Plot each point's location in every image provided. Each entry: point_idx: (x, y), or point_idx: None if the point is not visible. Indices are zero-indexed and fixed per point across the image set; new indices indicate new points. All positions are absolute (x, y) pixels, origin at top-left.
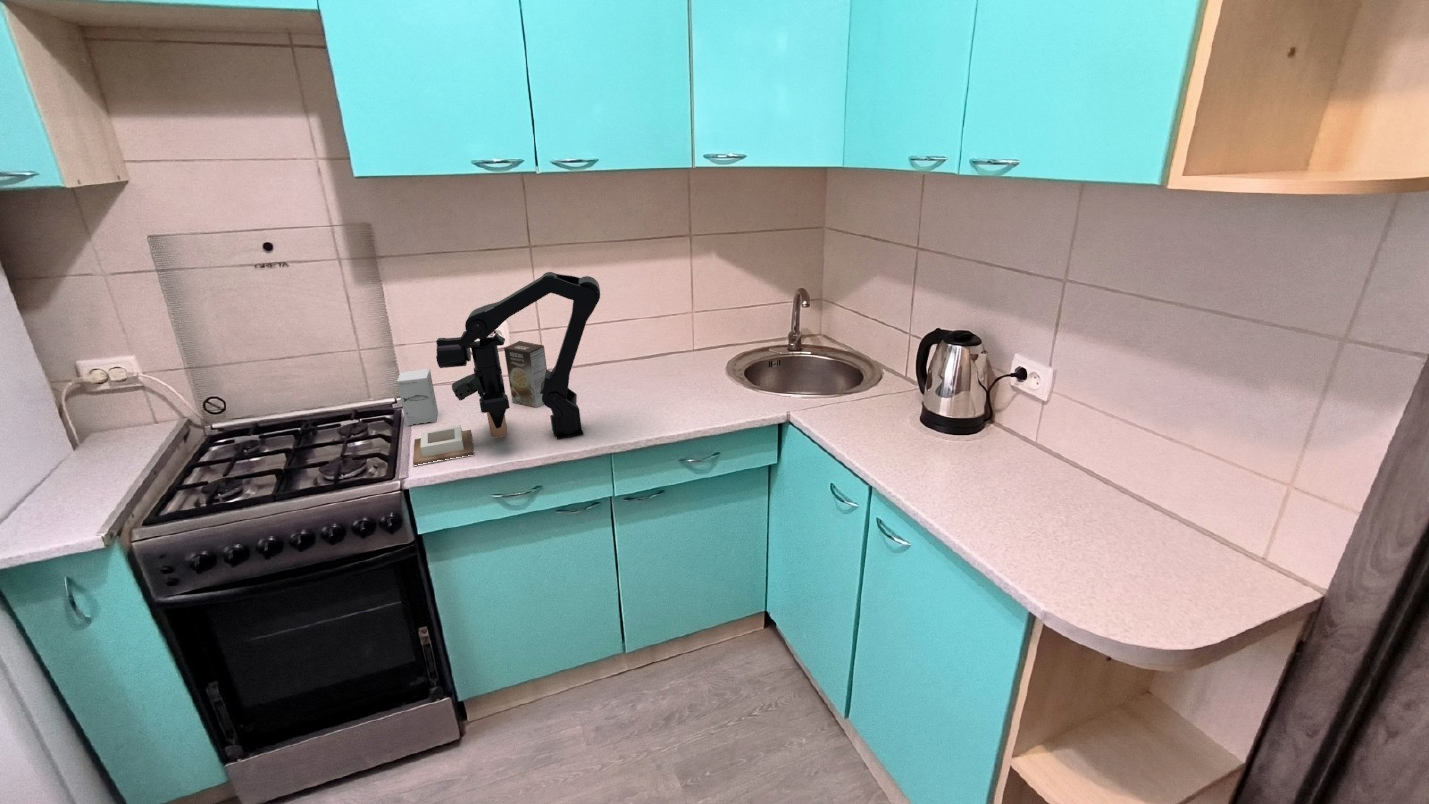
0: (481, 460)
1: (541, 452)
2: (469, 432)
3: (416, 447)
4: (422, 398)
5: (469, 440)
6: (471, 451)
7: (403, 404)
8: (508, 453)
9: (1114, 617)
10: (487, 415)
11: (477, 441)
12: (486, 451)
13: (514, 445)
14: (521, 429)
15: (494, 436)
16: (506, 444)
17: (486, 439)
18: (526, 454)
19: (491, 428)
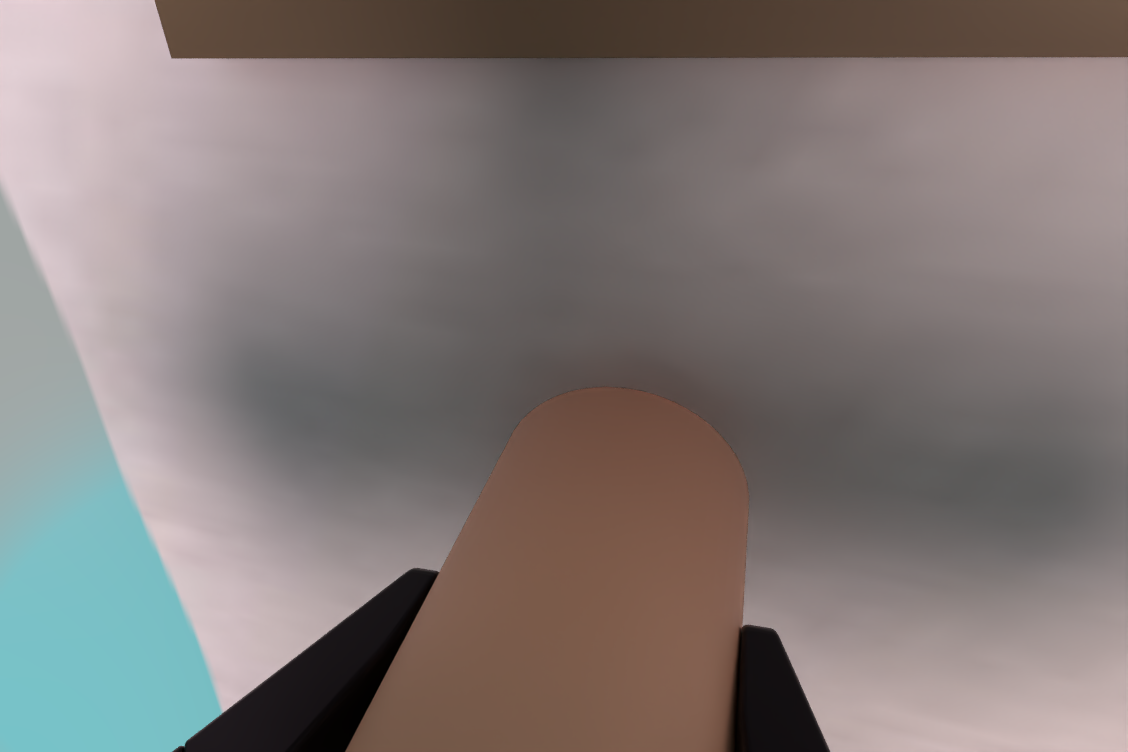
0: (87, 142)
1: (221, 638)
2: (1102, 17)
3: None
4: None
5: (645, 5)
6: (184, 29)
7: None
8: (234, 435)
9: None
10: (443, 721)
11: (721, 136)
12: (323, 231)
13: (406, 521)
14: (805, 672)
15: (515, 429)
16: (456, 464)
17: (726, 280)
18: (197, 551)
19: (493, 501)
